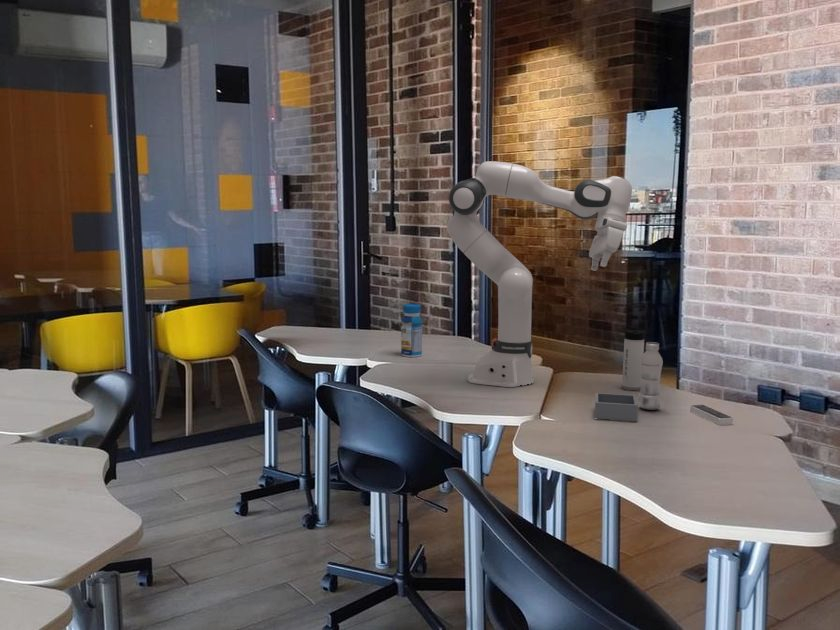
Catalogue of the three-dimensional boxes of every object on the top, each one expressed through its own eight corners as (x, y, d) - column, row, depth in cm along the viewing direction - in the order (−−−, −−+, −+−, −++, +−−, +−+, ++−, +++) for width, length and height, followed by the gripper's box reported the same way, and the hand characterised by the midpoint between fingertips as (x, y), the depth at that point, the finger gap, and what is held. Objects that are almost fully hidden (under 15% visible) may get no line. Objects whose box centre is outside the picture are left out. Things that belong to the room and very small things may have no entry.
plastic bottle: (648, 413, 234) (652, 346, 231) (632, 407, 240) (636, 342, 237) (665, 410, 237) (669, 344, 234) (649, 405, 243) (652, 340, 240)
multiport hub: (719, 426, 223) (719, 418, 222) (689, 412, 237) (689, 405, 236) (733, 425, 224) (733, 417, 224) (702, 411, 238) (703, 404, 237)
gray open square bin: (594, 419, 228) (595, 402, 227) (594, 408, 239) (595, 392, 238) (636, 421, 225) (637, 405, 225) (634, 411, 237) (635, 395, 236)
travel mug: (639, 386, 267) (642, 327, 264) (643, 391, 260) (646, 330, 257) (620, 385, 267) (623, 326, 264) (623, 390, 261) (626, 330, 258)
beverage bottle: (422, 357, 309) (422, 306, 305) (400, 357, 309) (400, 306, 306) (422, 353, 317) (422, 303, 314) (401, 353, 317) (401, 303, 314)
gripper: (590, 229, 266) (579, 269, 265) (609, 218, 246) (598, 261, 245) (608, 235, 267) (598, 274, 266) (629, 224, 246) (618, 266, 245)
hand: (598, 268), depth 255 cm, fingers open, 8 cm apart
